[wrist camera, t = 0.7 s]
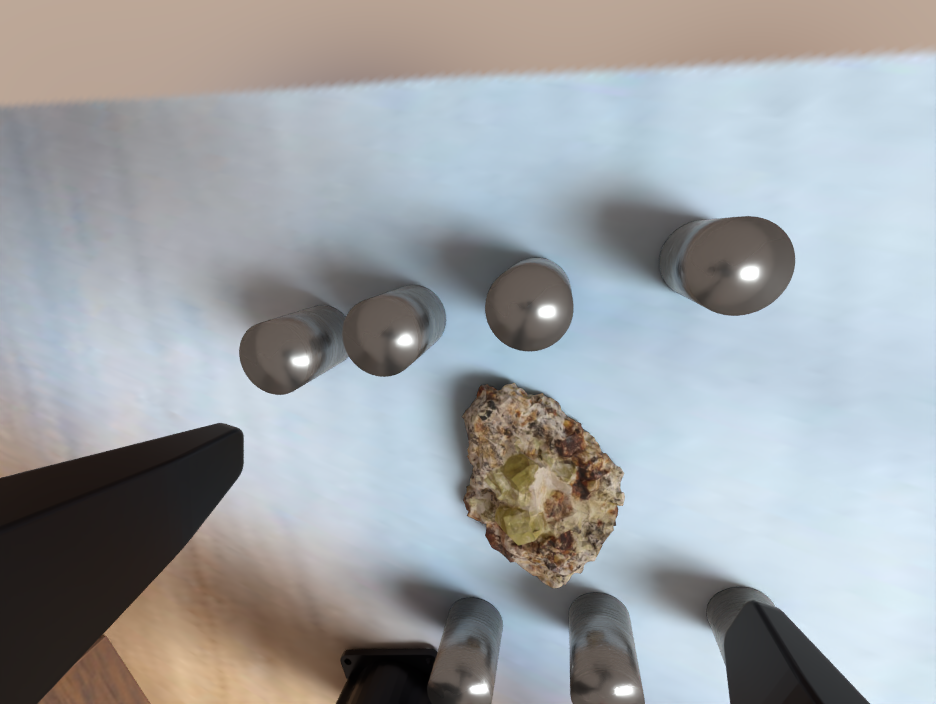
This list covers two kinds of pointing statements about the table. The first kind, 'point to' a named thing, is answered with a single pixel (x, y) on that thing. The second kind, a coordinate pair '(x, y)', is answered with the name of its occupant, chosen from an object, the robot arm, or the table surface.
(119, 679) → the tissue box cover
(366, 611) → the table surface
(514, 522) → the mineral rock
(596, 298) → the table surface
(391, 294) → the spacer posts
